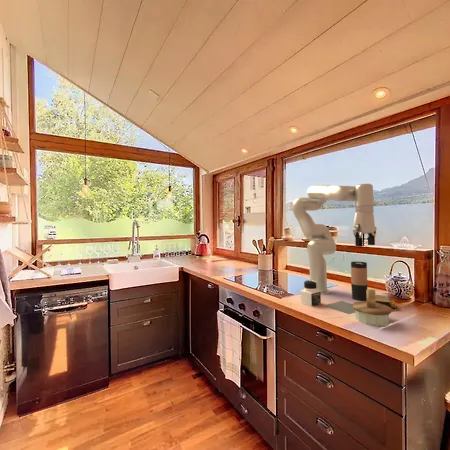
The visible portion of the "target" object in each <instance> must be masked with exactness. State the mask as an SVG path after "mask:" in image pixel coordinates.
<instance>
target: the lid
mask: <svg viewBox="0 0 450 450" xmlns="http://www.w3.org/2000/svg"><path fill="white" fill-rule="evenodd" d="M366 291H367V300H366V301H355V302H354V303H352V304H353V309H355V310H356V311H359V312H362V313H366V314H371V315H388V314H389V315H390V314H391V313H392V311H391V309H392V308H391V306H389V307H388V306H386V305H383V304H379V303H376V299H375V295H376V289H372V288H367V290H366Z"/></svg>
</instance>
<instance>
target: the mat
mask: <svg viewBox="0 0 450 450" xmlns="http://www.w3.org/2000/svg"><path fill="white" fill-rule="evenodd" d="M323 307H325V308H329V309H332V310H335V311H338V312H340V313H344V314H347V315H351V314H355V309H353V303H350V302H347V301H344V300H340V301H336V302H332V303H329V304H323Z"/></svg>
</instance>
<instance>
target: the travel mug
mask: <svg viewBox="0 0 450 450" xmlns="http://www.w3.org/2000/svg"><path fill="white" fill-rule="evenodd" d="M350 277H351V278H350V279H351V280H350V281H351V287H350V288H351V297H352V298H351V299H352V300H354V301H357V302H367V291H366V290H367V289H368V264H367V262H365V261H351V262H350Z"/></svg>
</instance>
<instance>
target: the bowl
mask: <svg viewBox="0 0 450 450" xmlns="http://www.w3.org/2000/svg"><path fill="white" fill-rule="evenodd" d="M354 315H355V318H354V319H355V320H357V321H358V322H359V323H361V324H365V325H370V326H376V327H379V326H380V327H382V328H386V327H388V326H389V325H390V314H388V315H371V314H366V313H362V312H359V311H356V310H355V313H354Z"/></svg>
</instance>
